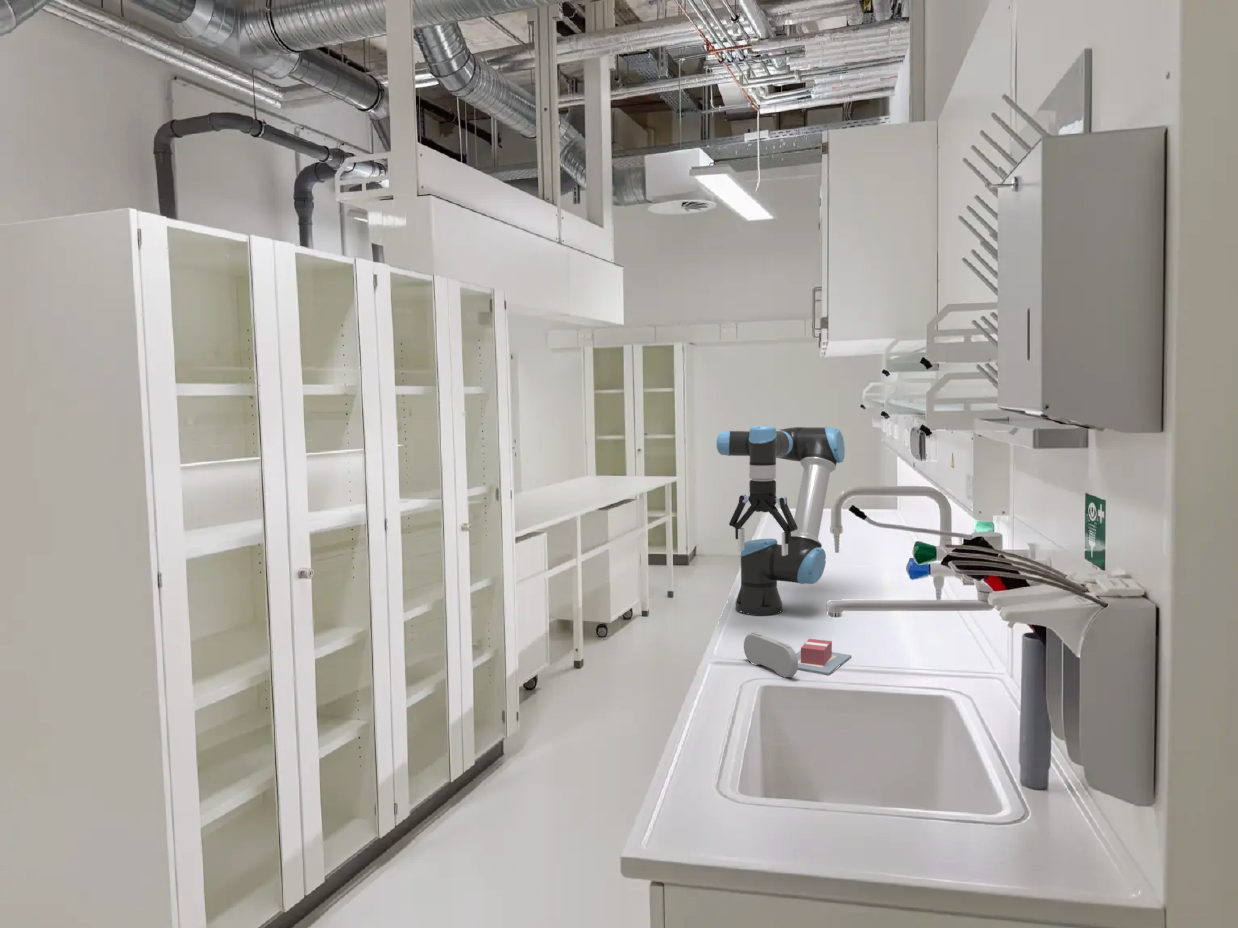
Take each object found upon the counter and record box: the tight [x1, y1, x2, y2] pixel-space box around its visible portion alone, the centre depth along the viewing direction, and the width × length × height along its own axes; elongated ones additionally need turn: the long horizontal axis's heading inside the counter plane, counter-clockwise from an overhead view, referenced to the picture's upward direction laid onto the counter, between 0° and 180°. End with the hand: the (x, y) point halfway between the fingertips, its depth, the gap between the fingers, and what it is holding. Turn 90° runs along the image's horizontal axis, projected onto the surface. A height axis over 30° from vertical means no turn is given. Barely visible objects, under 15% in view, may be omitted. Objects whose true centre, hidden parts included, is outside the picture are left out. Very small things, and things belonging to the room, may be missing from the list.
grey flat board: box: [795, 650, 852, 676], centre depth 217 cm, size 17×13×1 cm
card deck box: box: [800, 638, 833, 666], centre depth 217 cm, size 6×9×4 cm, turn 153°
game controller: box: [743, 632, 798, 678], centre depth 212 cm, size 20×2×8 cm, turn 29°
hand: (762, 552), depth 239 cm, fingers open, 13 cm apart
